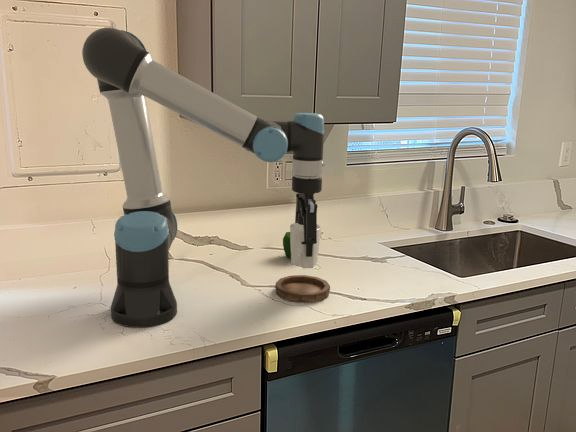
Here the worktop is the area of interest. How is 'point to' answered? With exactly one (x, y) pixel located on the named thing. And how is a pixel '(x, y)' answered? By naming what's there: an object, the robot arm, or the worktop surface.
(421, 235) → the worktop surface
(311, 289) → the ring tray
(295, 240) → the white cup
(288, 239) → the bell pepper
